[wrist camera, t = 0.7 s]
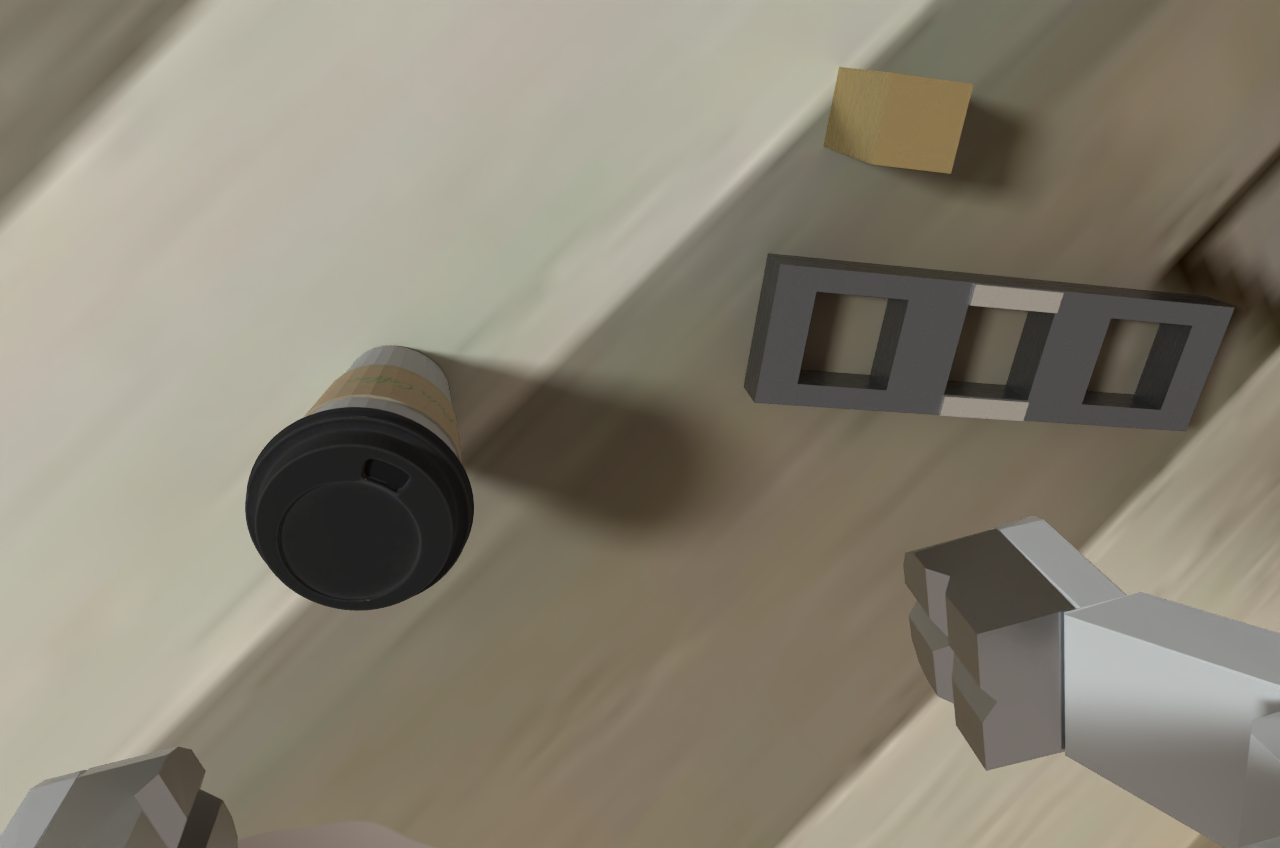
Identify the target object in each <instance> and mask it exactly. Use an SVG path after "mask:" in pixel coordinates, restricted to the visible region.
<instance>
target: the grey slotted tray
mask: <svg viewBox="0 0 1280 848" xmlns="http://www.w3.org/2000/svg"><path fill="white" fill-rule="evenodd" d="M816 292H827V293H838V294H849V295H860V296H871V297H882V298H889V299H888V303H887V308H886V312H885V316H884V320H883V324H882V329H881V333H880V337H879V341H878V345H877V349H876V354H875V358H874V362H873V366H872V370H871V374H870V375H860V374H847V373H833V372H820V371H806V370H800V369H801V364H802V360H803V355H804V350H805V345H806V340H807V335H808V331H809V326H810V321H811V316H812V311H813V306H814V301H815V297H816ZM968 305H970V306H981V307H992V308H1003V309H1014V310H1025V311H1029V312H1028V315H1027V318H1026V322H1025V325H1024V328H1023V332H1022V335H1021V338H1020V342H1019V345H1018V348H1017V351H1016V355H1015V358H1014V361H1013V365H1012V368H1011V371H1010V374H1009V378H1008V381H1007V384H1006V385H995V384H982V383H968V382H955V381H948V378H949V374H950V371H951V367H952V363H953V360H954V356H955V352H956V349H957V345H958V342H959V338H960V334H961V331H962V327H963V323H964V320H965V316H966V313H967V309H968ZM1233 311H1234V307H1232V306H1229V305H1227V304H1224V303H1221V302H1219V301H1216V300H1213V299H1211V298H1208V297H1206V296H1198V295H1188V294H1177V293H1167V292H1157V291H1147V290H1136V289H1126V288H1116V287H1106V286H1095V285H1085V284H1075V283H1065V282H1054V281H1044V280H1034V279H1024V278H1013V277H1003V276H993V275H983V274H972V273H962V272H952V271H942V270H931V269H921V268H911V267H901V266H890V265H880V264H870V263H860V262H849V261H839V260H829V259H819V258H808V257H798V256H788V255H778V254H768V257H767V262H766V268H765V273H764V279H763V284H762V290H761V295H760V301H759V306H758V312H757V317H756V323H755V328H754V333H753V339H752V344H751V350H750V355H749V361H748V366H747V372H746V377H745V383H744V388H745V389H746V391H747V392H748V394H749V395H750V397H751V398H752V400H753V401H754V403H767V404H782V405H797V406H812V407H827V408H842V409H857V410H872V411H887V412H902V413H917V414H932V415H940V416H955V417H970V418H985V419H1000V420H1015V421H1037V422H1052V423H1067V424H1082V425H1097V426H1112V427H1127V428H1142V429H1157V430H1171V431H1186V430H1187V427H1188V425H1189V422H1190V420H1191V417H1192V415H1193V412H1194V410H1195V407H1196V404H1197V402H1198V399H1199V397H1200V394H1201V392H1202V389H1203V387H1204V384H1205V382H1206V379H1207V377H1208V374H1209V372H1210V369H1211V367H1212V364H1213V361H1214V359H1215V356H1216V354H1217V351H1218V349H1219V346H1220V344H1221V341H1222V339H1223V336H1224V334H1225V331H1226V329H1227V326H1228V324H1229V321H1230V318H1231V316H1232V313H1233ZM1111 318H1113V319H1124V320H1135V321H1146V322H1158V323H1161V324H1160V326H1159V329H1158V332H1157V335H1156V337H1155V340H1154V343H1153V346H1152V348H1151V351H1150V354H1149V357H1148V359H1147V362H1146V365H1145V368H1144V370H1143V373H1142V376H1141V379H1140V381H1139V384H1138V387H1137V390H1136V392H1135V395H1130V394H1117V393H1103V392H1090V391H1086V390H1087V387H1088V385H1089V382H1090V379H1091V376H1092V373H1093V370H1094V367H1095V364H1096V361H1097V358H1098V355H1099V352H1100V349H1101V347H1102V344H1103V341H1104V338H1105V335H1106V332H1107V329H1108V326H1109V323H1110V320H1111Z"/></svg>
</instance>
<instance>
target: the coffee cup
mask: <svg viewBox="0 0 1280 848" xmlns="http://www.w3.org/2000/svg"><path fill="white" fill-rule="evenodd" d="M245 512H246V521H247V526H248V530H249V533H250V536H251V539H252V541H253V543H254V545H255V547H256V549H257V551H258V553H259V554H260V555H261V557H262V558H263V560H264V561H265V562H266V564H267V565H268V566H269V568H270V569H271V570H272V572H273V573H274V574H275V575H276V576H277V577H278V578H279V579H280V580H281V581H282V582H283V583H284V584H285V585H286V586H287V587H289V588H290V589H292V590H293V591H294V592H296V593H298V594H299V595H301V596H303V597H305V598H307V599H309V600H311V601H313V602H316V603H318V604H321V605H324V606H328V607H332V608H337V609H343V610H373V609H379V608H384V607H388V606H392V605H394V604H397V603H400V602H402V601H404V600H407V599H409V598H411V597H413V596H415V595H417V594H419V593H421V592H423V591H425V590H426V589H428V588H429V587H431V586H432V585H434V584H435V583H436V582H438V581H439V580H440V579H441V578H442V577H443V576H444V575H445V574H446V573H447V572H448V571H449V570H450V569H451V568H452V566H453V565H454V564H455V562H456V561H457V559H458V557H459V556H460V554H461V552H462V550H463V548H464V546H465V544H466V542H467V539H468V537H469V534H470V531H471V527H472V523H473V515H474V501H473V494H472V488H471V485H470V481H469V479H468V476H467V474H466V471H465V469H464V468H463V466H462V457H461V449H460V442H459V434H458V426H457V419H456V416H455V412H454V409H453V406H452V403H451V395H450V388H449V385H448V381H447V378H446V376H445V375H444V373H443V371H442V370H441V369H440V368H439V367H438V365H437V364H436V363H435V362H433V361H432V360H431V359H429V358H428V357H427V356H425V355H423V354H421V353H419V352H417V351H414V350H412V349H409V348H405V347H399V346H382V347H377V348H374V349H372V350H370V351H368V352H366V353H364V354H363V355H362V356H361V357H359V358H358V359H357V360H356V361H355V362H354V364H353V365H352V366H351V367H350V368H349V369H348V370H347V372H346V373H344V374H343V375H342V376H341V377H339V378H338V379H337V380H335V381H334V382H333V383H332V385H331V386H330V387H329V388H328V389H327V390H326V392H325V393H324V394H323V395H322V396H321V397H320V399H319V400H318V401H317V402H316V403H315V405H314V406H313V407H312V408H311V409H310V410H309V412H308V413H307V414H306V415H305V416H304V417H303V418H302V419H300V420H298V421H296V422H294V423H292V424H291V425H289V426H287V427H286V428H285V429H283V430H282V431H281V432H279V433H278V434H277V435H276V436H275V437H274V438H273V439H272V440H271V441H270V442H269V443H268V444H267V445H266V446H265V448H264V449H263V450H262V452H261V453H260V455H259V456H258V458H257V460H256V462H255V464H254V466H253V468H252V471H251V474H250V477H249V481H248V485H247V494H246V502H245Z"/></svg>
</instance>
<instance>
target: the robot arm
mask: <svg viewBox="0 0 1280 848" xmlns="http://www.w3.org/2000/svg"><path fill="white" fill-rule="evenodd" d="M903 565H904V576H905V584H906V585H907V587H908V588H909V589H910V591H911V592H912V594H913V595H914V597H915V598H916V599H917V602H916V603H915V605H914V607H913V608H912V610H911V612H910V613H909V622H910V629H911V636H912V641H913V644H914V647H915V651H916V654H917V657H918V661H919V663H920V665H921V668H922V670H923V672H924V674H925V676H926V678H927V680H928V682H929V683H930V685H931V686H932V688H933V690H934V691H935V693H936V694H937V696H939V697H941V698H943V699H945V700H947V701H949V702H952V703H954V708H955V719H956V726H957V727H958V729H959V730H960V732H961V733H962V735H963V736H964V738H965V739H966V741H967V742H968V744H969V745H970V747H971V748H972V750H973V751H974V753H975V754H976V756H977V758H978V759H979V761H980V762H981V764H982V765H983V767H984V768H985V770H986V771H987V770H991V769H995V768H999V767H1003V766H1007V765H1011V764H1016V763H1020V762H1024V761H1028V760H1032V759H1036V758H1040V757H1044V756H1048V755H1052V754H1056V753H1060V752H1064V751H1065V755H1066V756H1068V757H1069V758H1071V759H1073V760H1074V761H1076V762H1078V763H1080V764H1081V765H1083V766H1085V767H1087V768H1088V769H1090V770H1092V771H1093V772H1095V773H1097V774H1099V775H1100V776H1102V777H1104V778H1105V779H1107V780H1109V781H1111V782H1112V783H1114V784H1116V785H1118V786H1119V787H1121V788H1123V789H1124V790H1126V791H1128V792H1130V793H1131V794H1133V795H1135V796H1137V797H1138V798H1140V799H1142V800H1143V801H1145V802H1147V803H1149V804H1150V805H1152V806H1154V807H1156V808H1157V809H1159V810H1161V811H1162V812H1164V813H1166V814H1168V815H1169V816H1171V817H1173V818H1174V819H1176V820H1178V821H1180V822H1181V823H1183V824H1185V825H1187V826H1188V827H1190V828H1192V829H1193V830H1195V831H1197V832H1199V833H1200V834H1202V835H1204V836H1206V837H1207V838H1209V839H1211V840H1212V841H1214V842H1216V843H1218V844H1219V845H1221V846H1223V847H1225V848H1280V633H1277V632H1273V631H1270V630H1267V629H1263V628H1260V627H1256V626H1253V625H1250V624H1246V623H1243V622H1240V621H1236V620H1233V619H1230V618H1226V617H1223V616H1220V615H1216V614H1213V613H1210V612H1206V611H1203V610H1200V609H1196V608H1193V607H1190V606H1186V605H1183V604H1180V603H1176V602H1173V601H1170V600H1166V599H1163V598H1160V597H1156V596H1153V595H1150V594H1146V593H1143V592H1139V593H1135V594H1131V595H1126V594H1125V593H1124V592H1123V591H1122V590H1121V589H1120V588H1119V587H1118V586H1116V585H1115V584H1114V583H1113V582H1112V581H1111V580H1110V579H1109V578H1108V577H1106V576H1105V575H1104V574H1103V573H1102V572H1101V571H1100V570H1099V569H1098V568H1096V567H1095V566H1094V565H1093V564H1092V563H1091V562H1090V561H1089V560H1088V559H1086V558H1085V557H1084V556H1083V555H1082V554H1081V553H1080V552H1079V551H1078V550H1076V549H1075V548H1074V547H1073V546H1072V545H1071V544H1070V543H1069V542H1068V541H1066V540H1065V539H1064V538H1063V537H1062V536H1061V535H1060V534H1059V533H1058V532H1056V531H1055V530H1054V529H1053V528H1052V527H1051V526H1050V525H1049V524H1048V523H1046V522H1045V521H1044V520H1043V519H1042V518H1039V517H1035V516H1030V517H1026V518H1023V519H1020V520H1016V521H1013V522H1010V523H1006V524H1003V525H1000V526H996V527H993V528H990V530H988V531H984V532H981V533H977V534H973V535H969V536H966V537H962V538H958V539H955V540H951V541H947V542H944V543H940V544H936V545H933V546H929V547H925V548H922V549H918V550H914V551H911V552H907V553H905V558H904V564H903ZM205 772H206V771H205V769H204V768H203V766H202V765H201V763H200V762H199V760H198V759H197V757H196V756H195V754H194V753H193V751H192V750H191V749H186V748H182V747H175V748H171V749H166V750H162V751H158V752H154V753H150V754H146V755H142V756H138V757H134V758H130V759H126V760H121V761H117V762H113V763H109V764H105V765H101V766H97V767H93V768H90V769H88V770H83V771H78V772H74V773H70V774H67V775H63V776H59V777H55V778H51V779H47V780H44V781H43V782H41V783H39V784H38V785H36V786H35V787H33V788H31V789H30V790H29V792H28V793H27V795H26V797H25V798H24V800H23V801H22V803H21V804H20V806H19V808H18V809H17V811H16V812H15V814H14V816H13V817H12V819H11V820H10V822H9V824H8V825H7V827H6V828H5V830H4V832H3V833H2V835H1V836H0V848H238V836H237V833H236V829H235V826H234V822H233V818H232V816H231V814H230V812H229V810H228V809H227V807H226V805H225V803H224V802H223V800H221V799H219V798H217V797H215V796H213V795H211V794H209V793H207V792H205V791H203V790H201V789H200V788H201V785H202V782H203V778H204V775H205Z"/></svg>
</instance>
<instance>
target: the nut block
mask: <svg viewBox="0 0 1280 848" xmlns="http://www.w3.org/2000/svg"><path fill="white" fill-rule="evenodd" d="M973 85H974V84H968V83H961V82H953V81H946V80H939V79H932V78H925V77H917V76H910V75H903V74H896V73H887V72H879V71H870V70H861V69H852V68H843V67H839V70H838V76H837V81H836V86H835V91H834V96H833V101H832V106H831V111H830V116H829V121H828V126H827V131H826V136H825V141H824V147H826V148H829V149H831V150H834V151H837V152H840V153H842V154H845V155H848V156H851V157H853V158H856V159H859V160H861V161H864V162H867V163H870V164H873V165H881V166H890V167H898V168H907V169H915V170H924V171H932V172H940V173H949V174H951V172H952V168H953V164H954V160H955V156H956V152H957V148H958V144H959V140H960V136H961V132H962V128H963V124H964V120H965V116H966V112H967V108H968V105H969V101H970V97H971V93H972V89H973Z"/></svg>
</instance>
